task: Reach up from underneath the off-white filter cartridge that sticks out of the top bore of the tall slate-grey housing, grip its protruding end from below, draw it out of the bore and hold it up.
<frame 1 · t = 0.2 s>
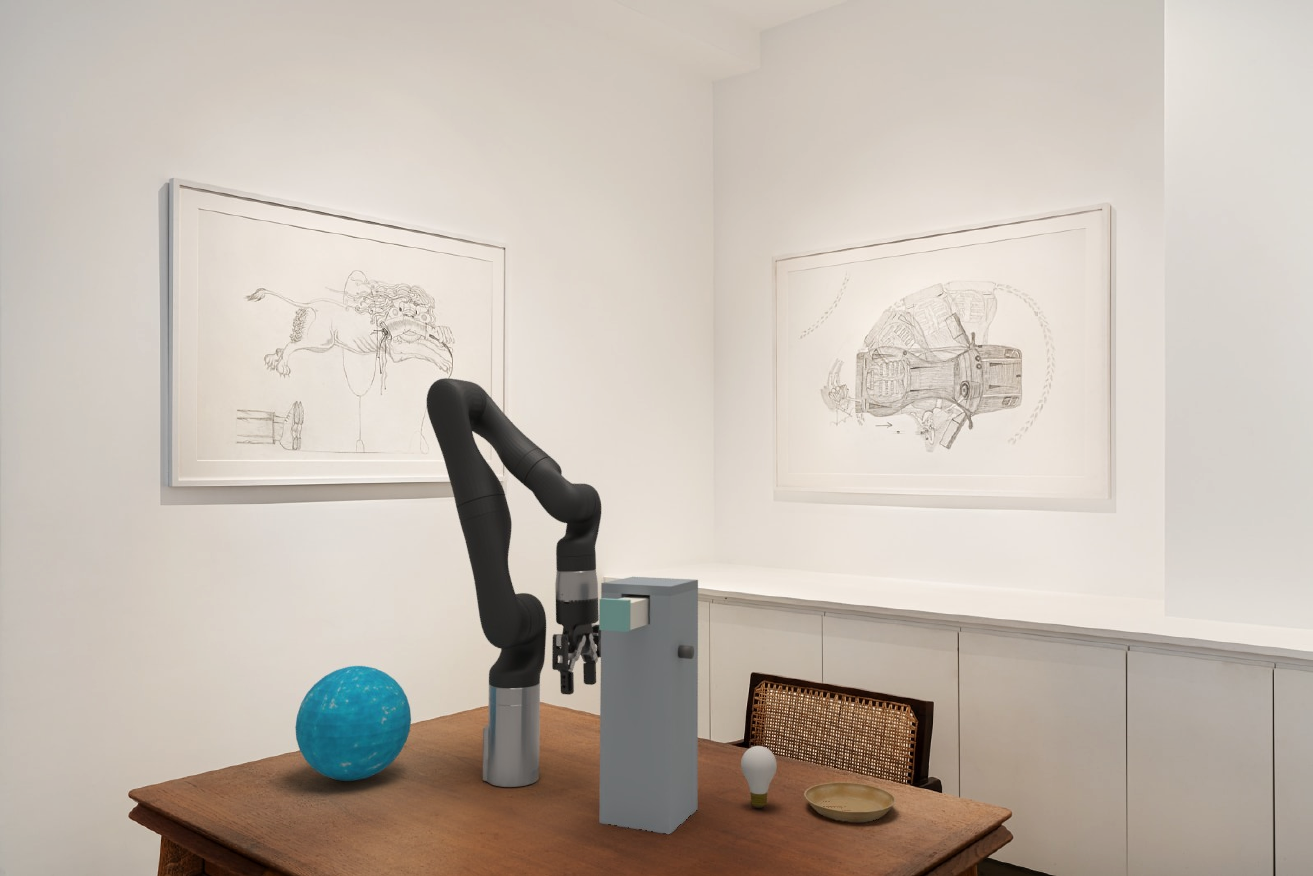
hand: (578, 689, 162), 17 cm above the table, tool pointing down, fingers open, 8 cm apart
plant saucer: (849, 813, 152), on the table
decorative sphere: (353, 779, 167), on the table
cartridge: (637, 623, 146), point 31 cm above the table, touching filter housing
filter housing: (649, 816, 149), on the table
light bulb: (758, 809, 153), on the table
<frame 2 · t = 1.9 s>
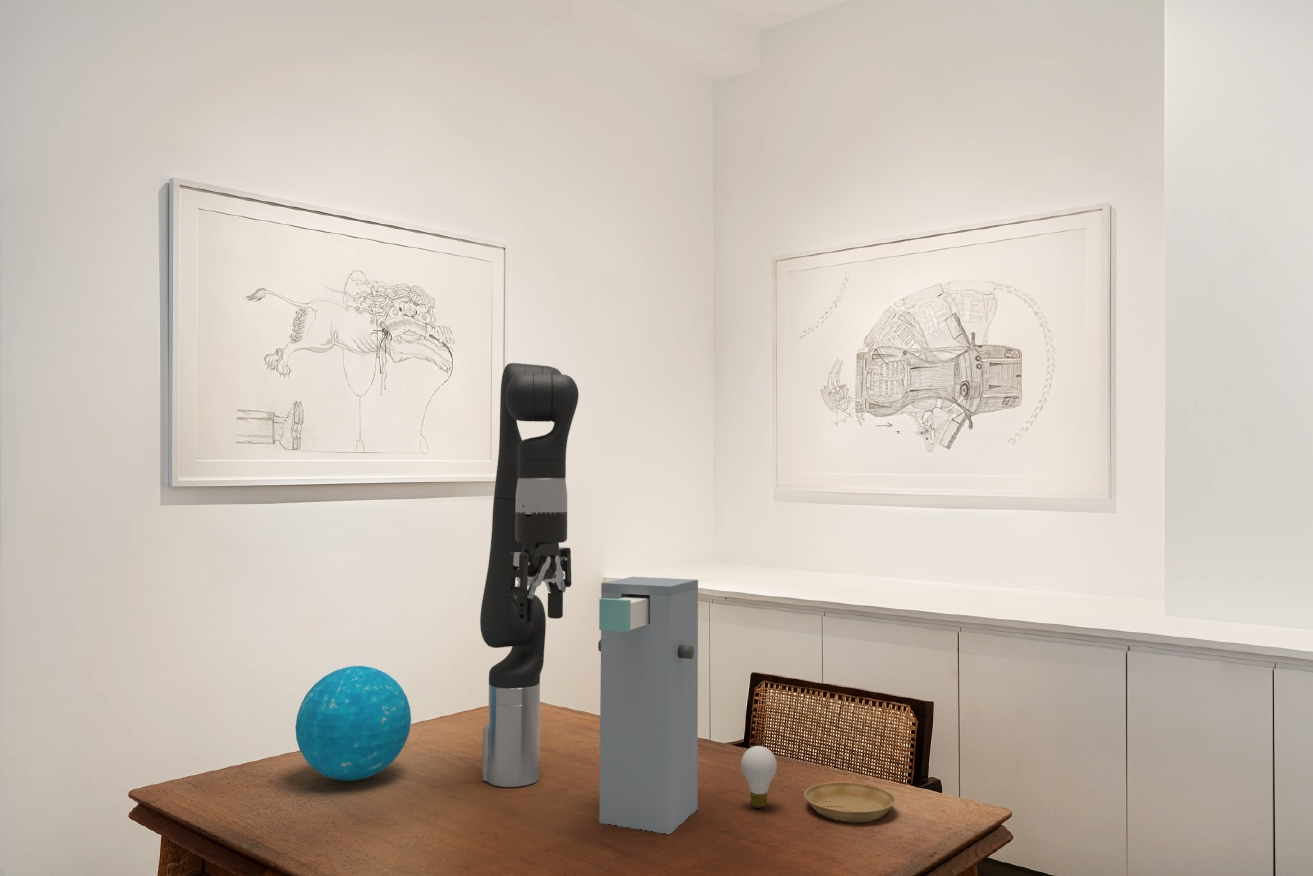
hand: (540, 622, 134), 33 cm above the table, tool pointing down, fingers open, 8 cm apart
nothing on the table moved.
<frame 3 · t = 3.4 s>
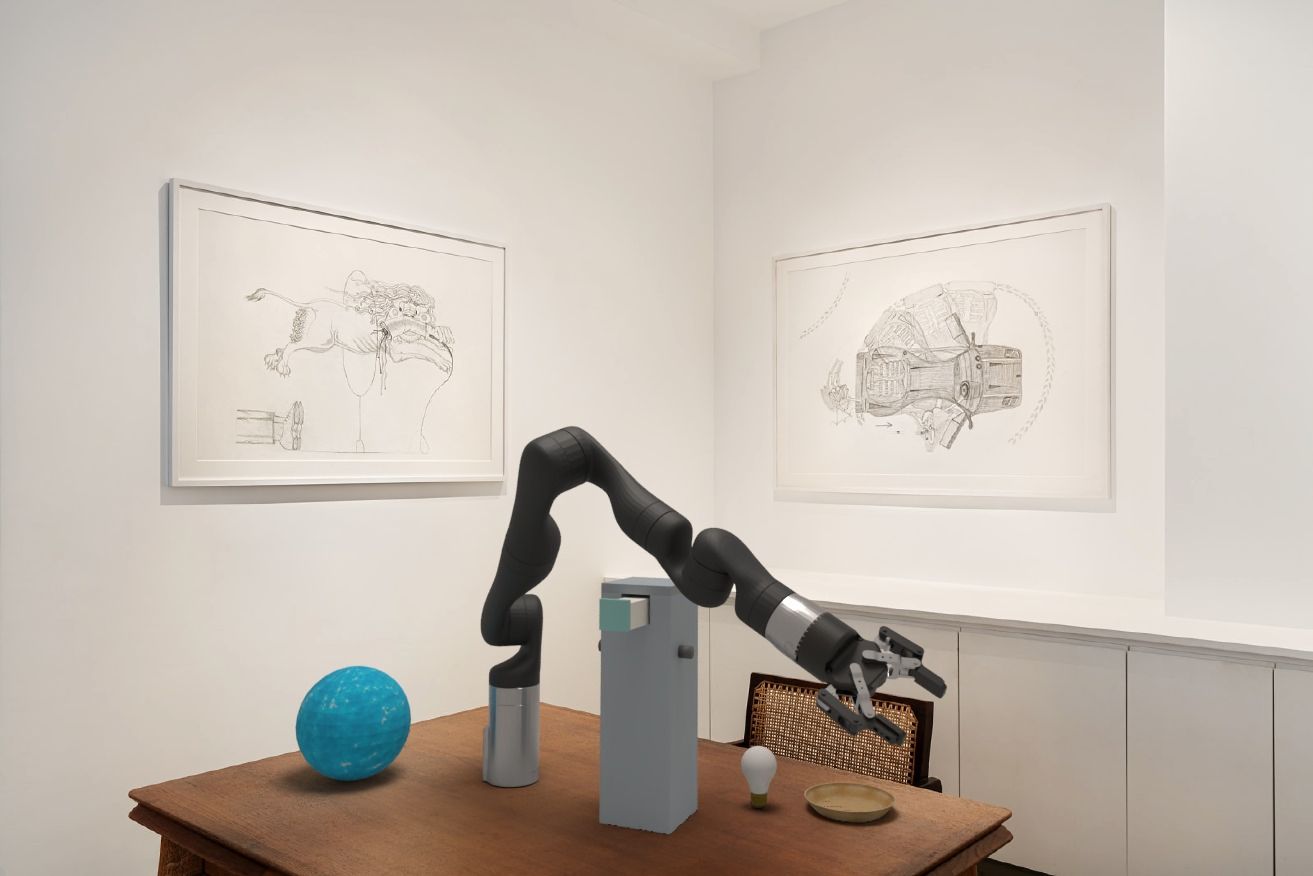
hand: (924, 716, 106), 27 cm above the table, tool tilted 60°, fingers open, 8 cm apart
nothing on the table moved.
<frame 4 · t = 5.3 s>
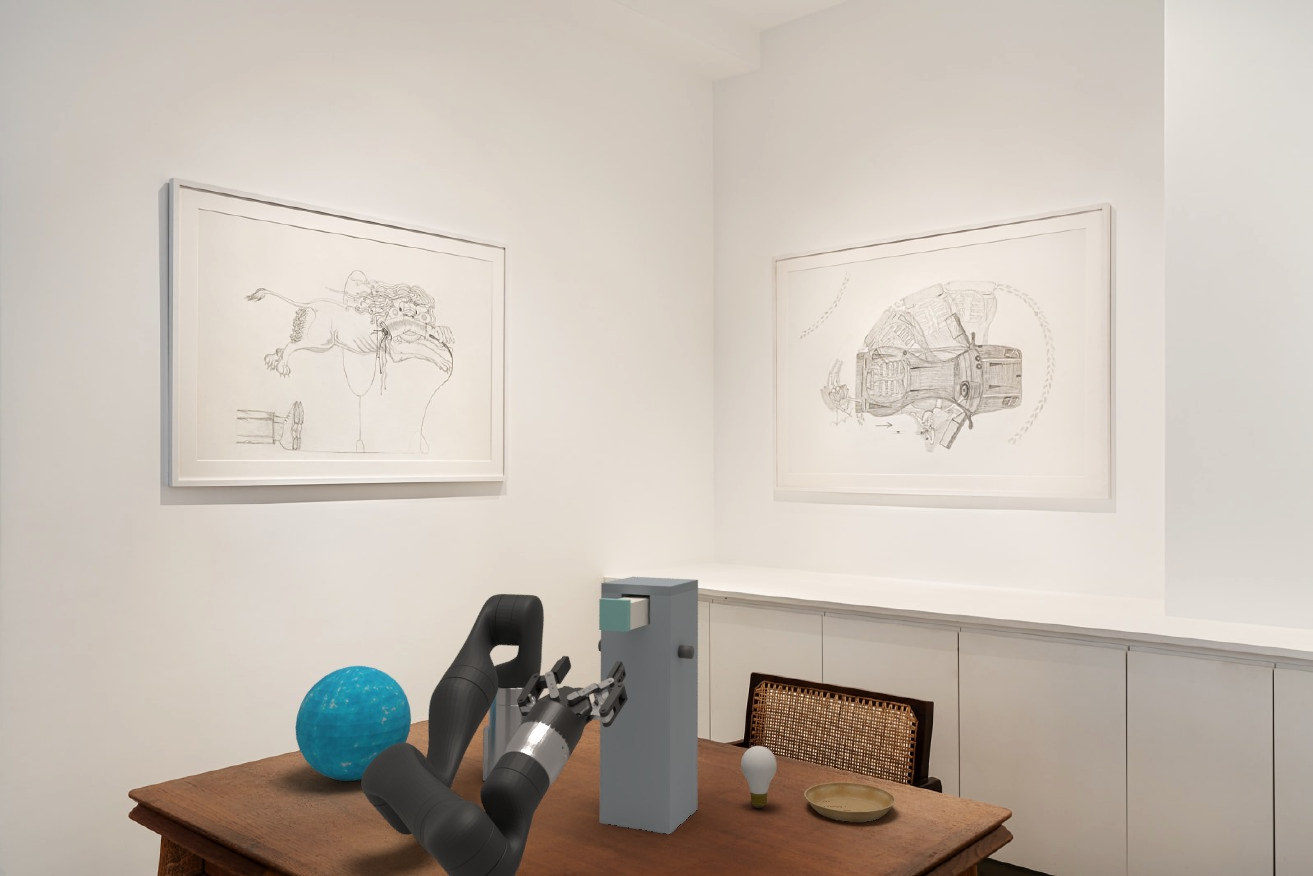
hand: (594, 663, 130), 28 cm above the table, tool pointing upward, fingers open, 8 cm apart
nothing on the table moved.
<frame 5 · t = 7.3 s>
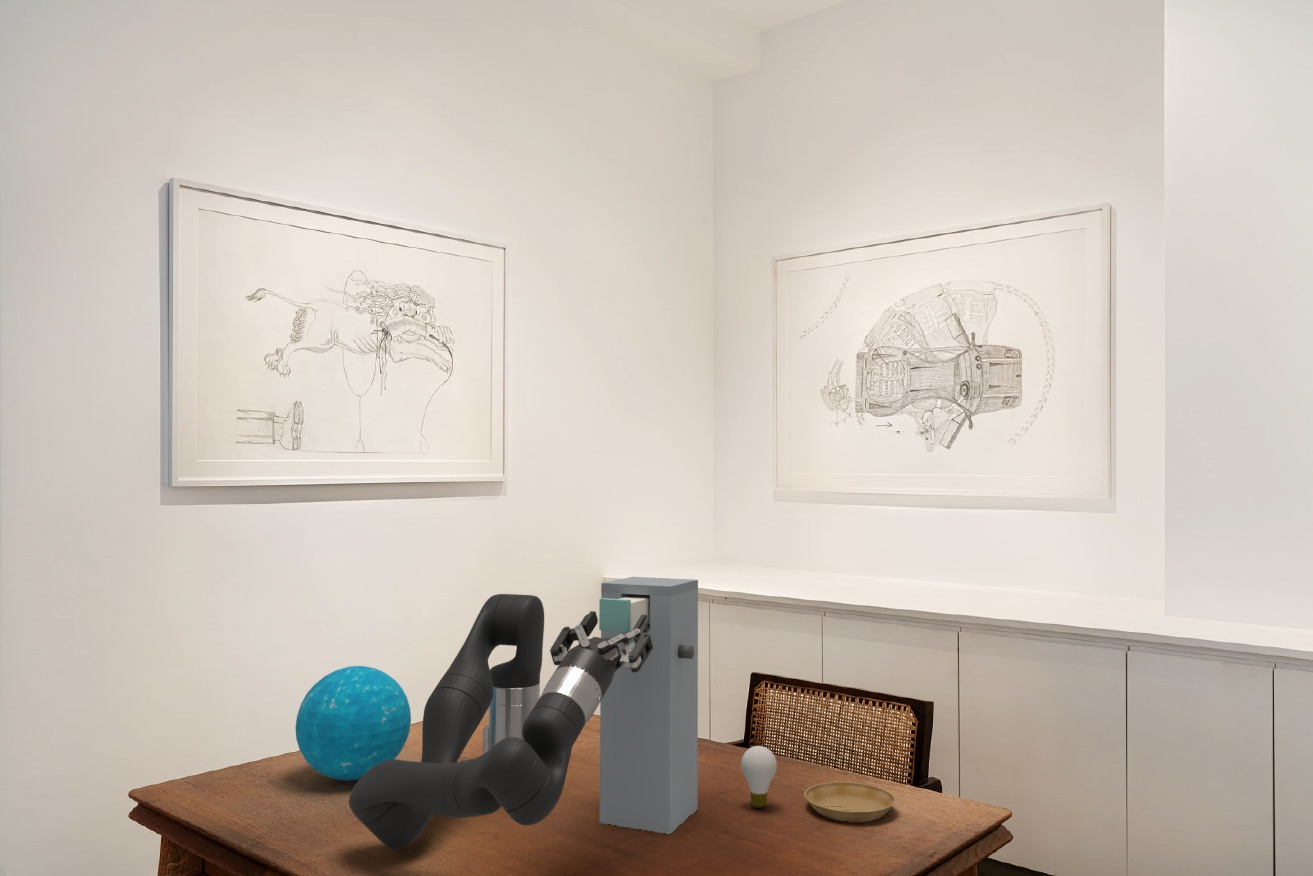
hand: (619, 617, 140), 33 cm above the table, tool pointing upward, fingers open, 8 cm apart
nothing on the table moved.
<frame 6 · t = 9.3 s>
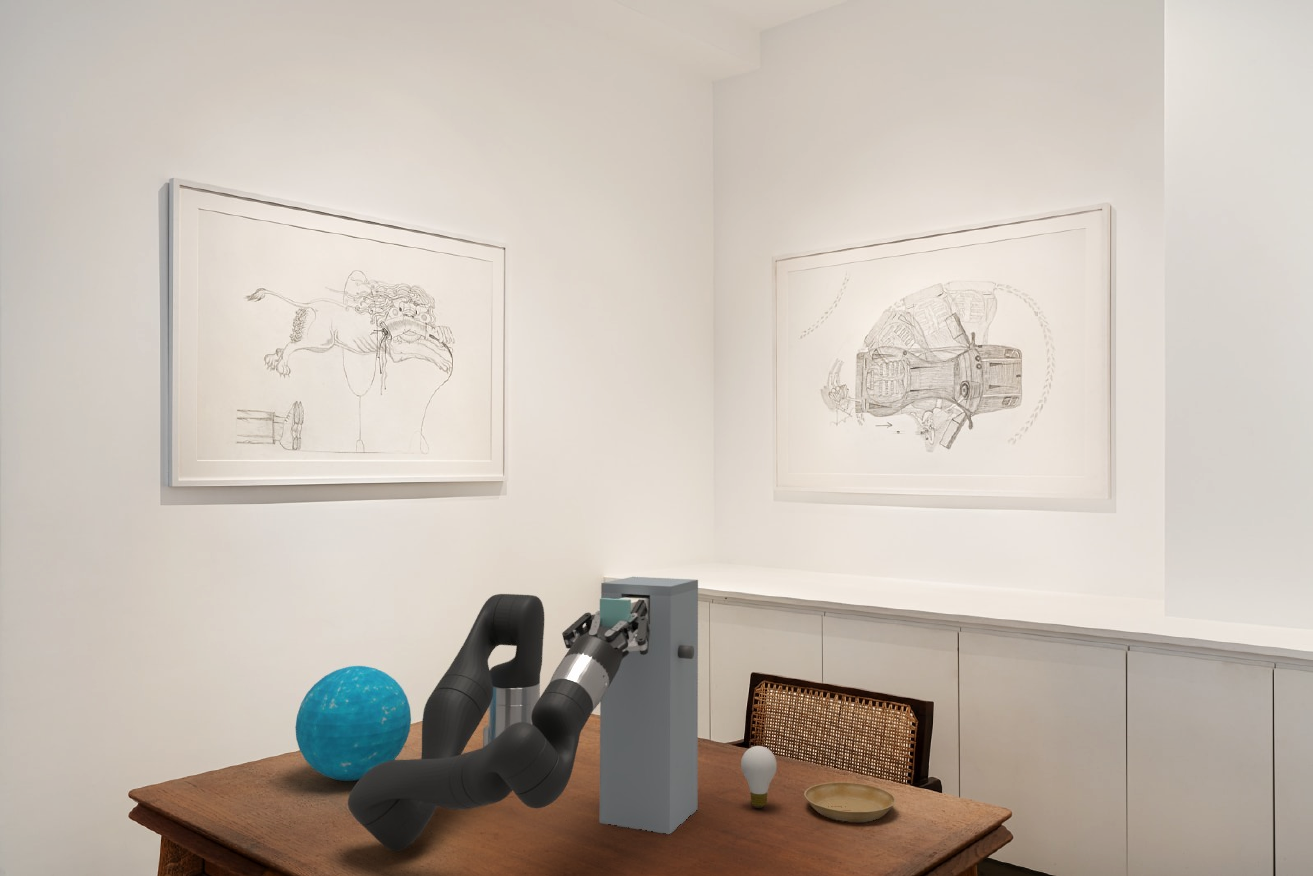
hand: (628, 603, 143), 35 cm above the table, tool pointing upward, fingers closed on cartridge, 4 cm apart
cartridge: (638, 623, 146), point 32 cm above the table, touching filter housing, gripper
everything else where it was.
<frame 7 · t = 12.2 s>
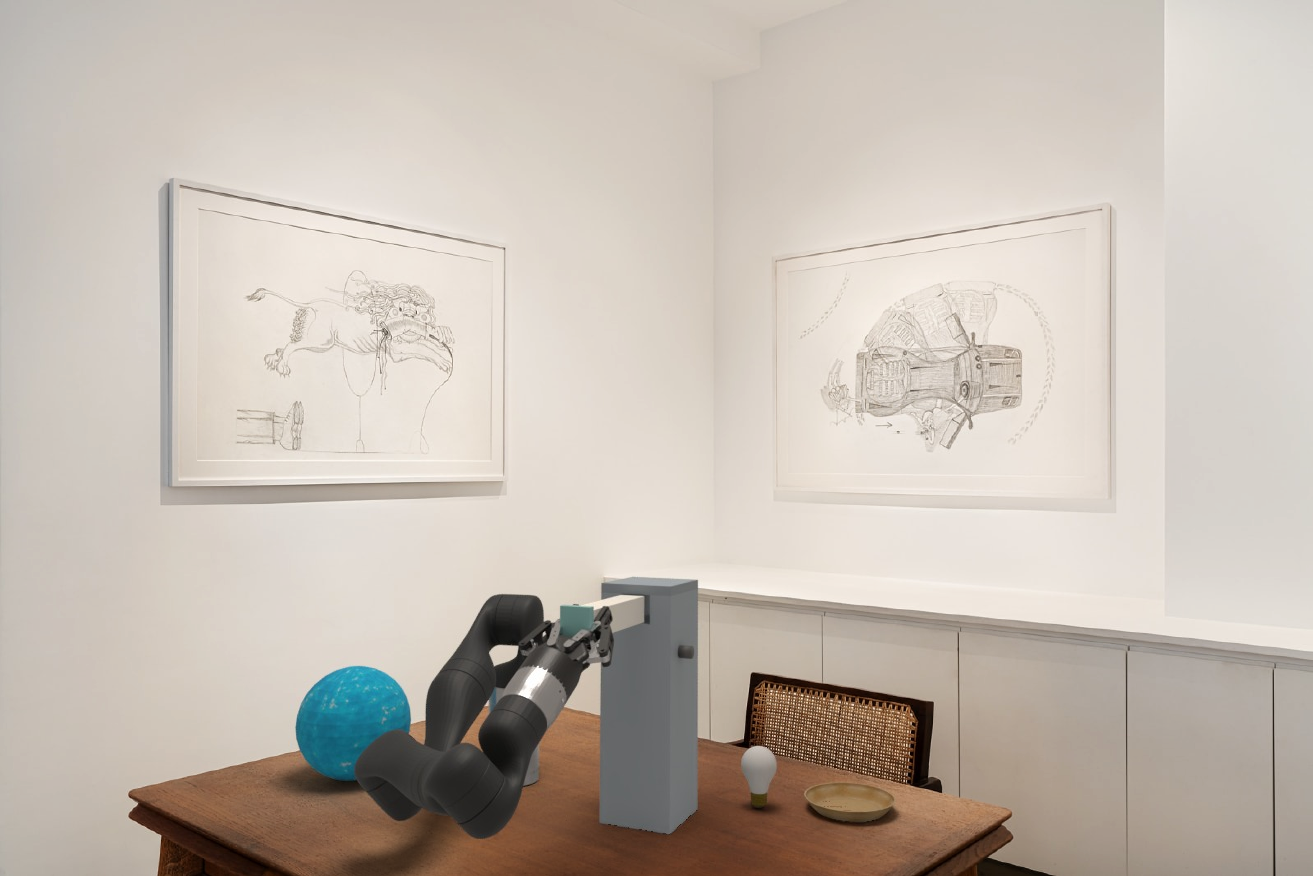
hand: (592, 610, 132), 35 cm above the table, tool pointing upward, fingers closed on cartridge, 4 cm apart
cartridge: (603, 630, 135), point 32 cm above the table, touching gripper
everything else where it was.
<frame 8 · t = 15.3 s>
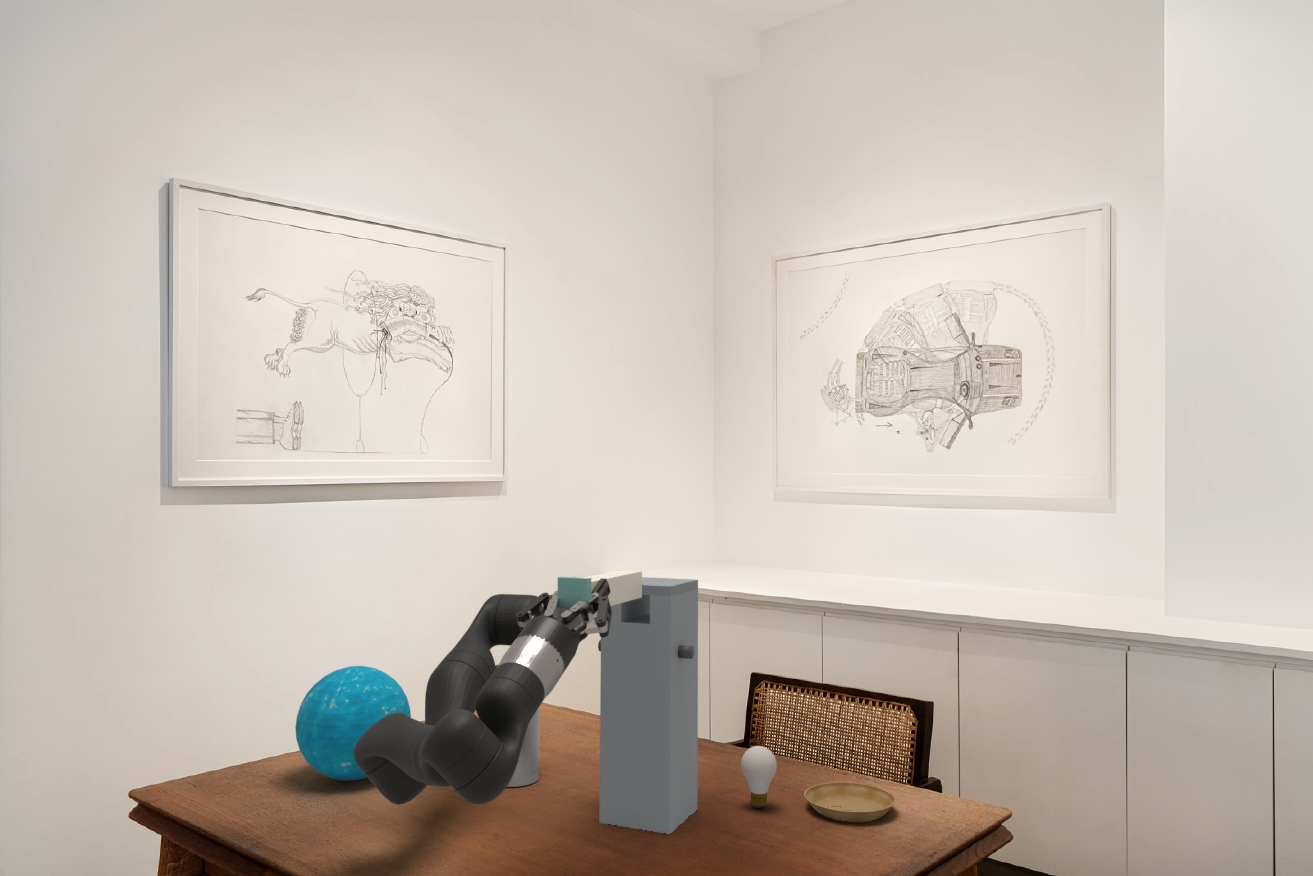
hand: (590, 583, 131), 39 cm above the table, tool pointing upward, fingers closed on cartridge, 4 cm apart
cartridge: (601, 604, 134), point 36 cm above the table, touching gripper
everything else where it was.
at the end: cartridge inside the target area (3.1 cm from its centre), point 35.9 cm above the table; cartridge moved 13.6 cm from its start; the gripper is holding cartridge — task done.
